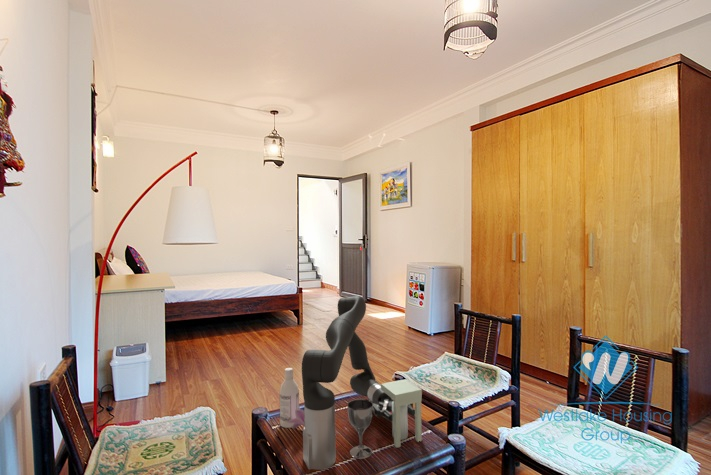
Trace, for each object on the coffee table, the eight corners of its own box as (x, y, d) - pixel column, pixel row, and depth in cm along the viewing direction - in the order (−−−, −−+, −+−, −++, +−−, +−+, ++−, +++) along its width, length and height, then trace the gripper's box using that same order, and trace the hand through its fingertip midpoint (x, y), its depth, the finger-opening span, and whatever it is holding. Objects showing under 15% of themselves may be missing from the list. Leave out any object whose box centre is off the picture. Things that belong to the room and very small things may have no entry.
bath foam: (294, 417, 137) (293, 364, 137) (302, 424, 132) (301, 369, 132) (276, 422, 133) (276, 368, 133) (285, 430, 128) (284, 373, 128)
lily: (329, 432, 128) (323, 403, 132) (318, 435, 118) (312, 403, 122) (297, 441, 129) (293, 412, 133) (284, 445, 119) (280, 413, 123)
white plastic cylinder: (392, 439, 121) (391, 406, 121) (392, 431, 126) (392, 399, 126) (408, 440, 120) (407, 406, 120) (407, 431, 125) (407, 400, 125)
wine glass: (374, 445, 118) (373, 399, 118) (372, 460, 110) (372, 410, 110) (349, 444, 118) (349, 398, 118) (346, 459, 110) (346, 409, 111)
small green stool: (396, 448, 116) (395, 395, 116) (381, 433, 125) (381, 383, 125) (422, 441, 120) (421, 389, 120) (406, 426, 129) (406, 379, 129)
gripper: (363, 390, 133) (383, 409, 119) (397, 383, 139) (420, 400, 124) (363, 410, 133) (384, 432, 119) (397, 403, 139) (421, 422, 124)
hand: (402, 416), depth 121 cm, fingers open, 8 cm apart
